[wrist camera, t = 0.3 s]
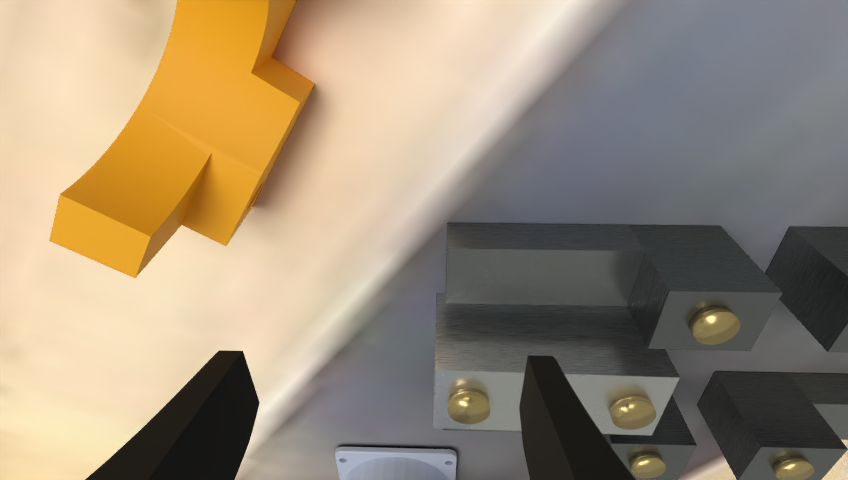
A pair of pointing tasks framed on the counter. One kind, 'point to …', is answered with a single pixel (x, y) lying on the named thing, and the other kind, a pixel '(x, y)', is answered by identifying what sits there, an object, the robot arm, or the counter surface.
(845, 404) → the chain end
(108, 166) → the pipe clamp
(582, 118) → the counter surface
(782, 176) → the counter surface
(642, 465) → the chain end
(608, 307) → the block with brass knobs
